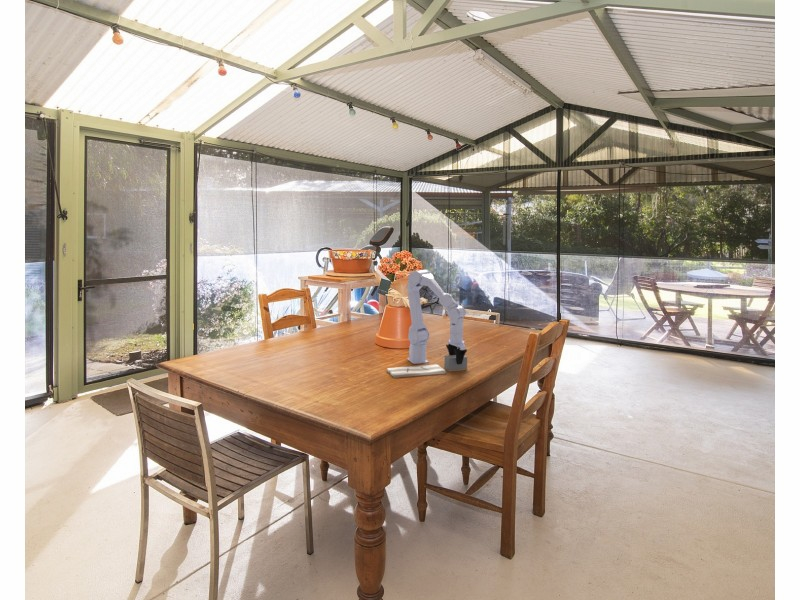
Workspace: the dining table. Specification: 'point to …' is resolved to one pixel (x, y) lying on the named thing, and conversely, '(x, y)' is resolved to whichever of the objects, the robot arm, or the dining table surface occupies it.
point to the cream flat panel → (416, 370)
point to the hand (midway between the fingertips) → (455, 361)
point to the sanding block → (454, 363)
